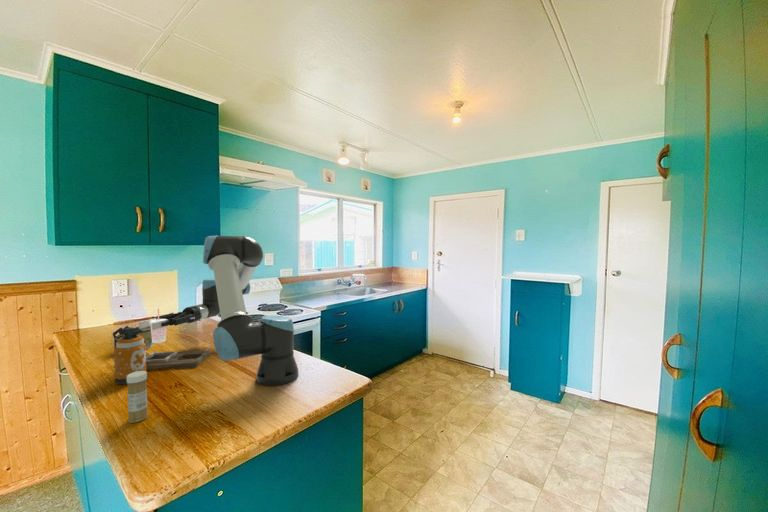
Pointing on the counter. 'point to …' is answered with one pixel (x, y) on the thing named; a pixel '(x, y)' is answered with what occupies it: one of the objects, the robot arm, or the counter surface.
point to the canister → (128, 353)
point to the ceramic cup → (146, 336)
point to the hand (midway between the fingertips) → (146, 325)
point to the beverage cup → (158, 332)
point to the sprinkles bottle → (137, 396)
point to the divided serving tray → (175, 359)
